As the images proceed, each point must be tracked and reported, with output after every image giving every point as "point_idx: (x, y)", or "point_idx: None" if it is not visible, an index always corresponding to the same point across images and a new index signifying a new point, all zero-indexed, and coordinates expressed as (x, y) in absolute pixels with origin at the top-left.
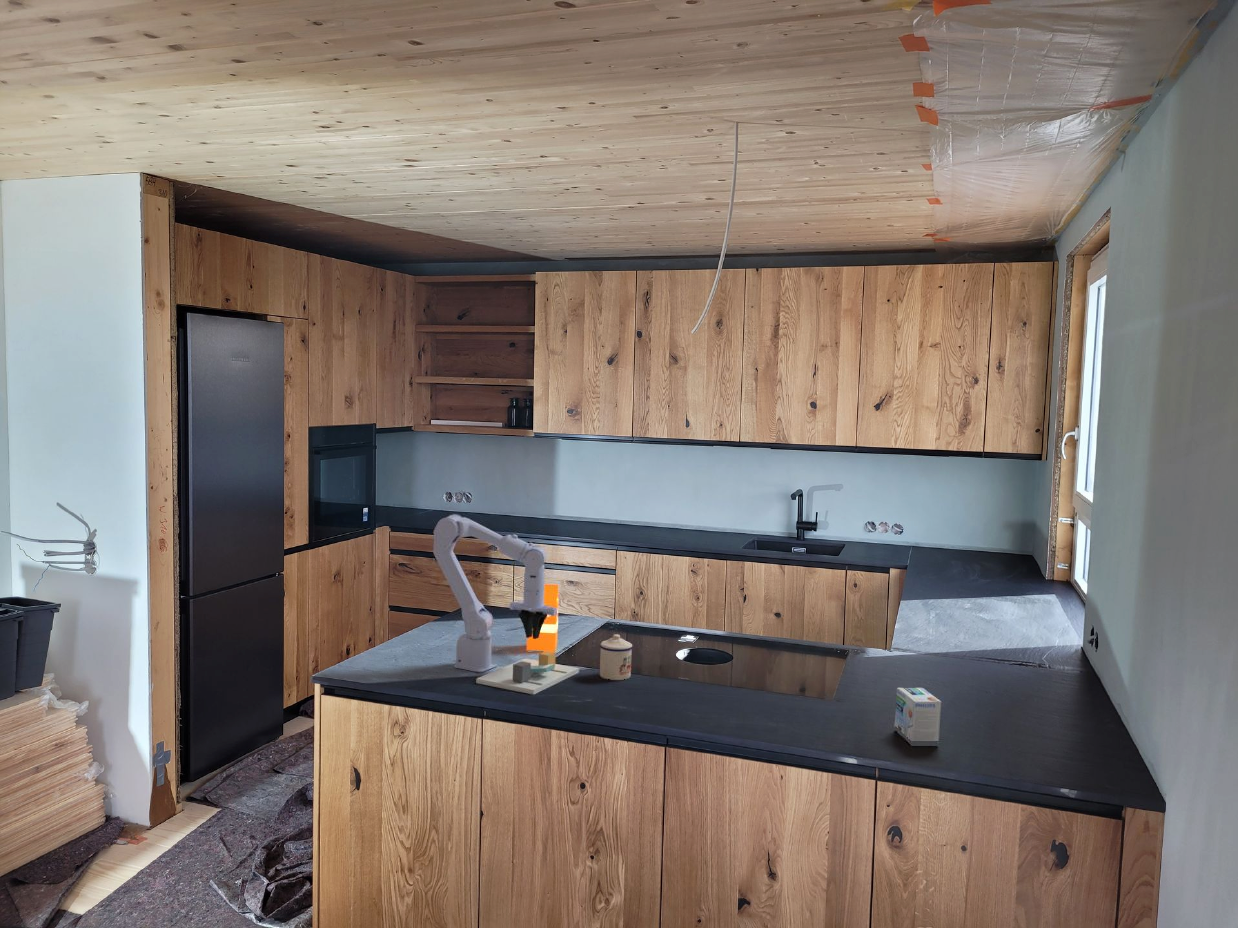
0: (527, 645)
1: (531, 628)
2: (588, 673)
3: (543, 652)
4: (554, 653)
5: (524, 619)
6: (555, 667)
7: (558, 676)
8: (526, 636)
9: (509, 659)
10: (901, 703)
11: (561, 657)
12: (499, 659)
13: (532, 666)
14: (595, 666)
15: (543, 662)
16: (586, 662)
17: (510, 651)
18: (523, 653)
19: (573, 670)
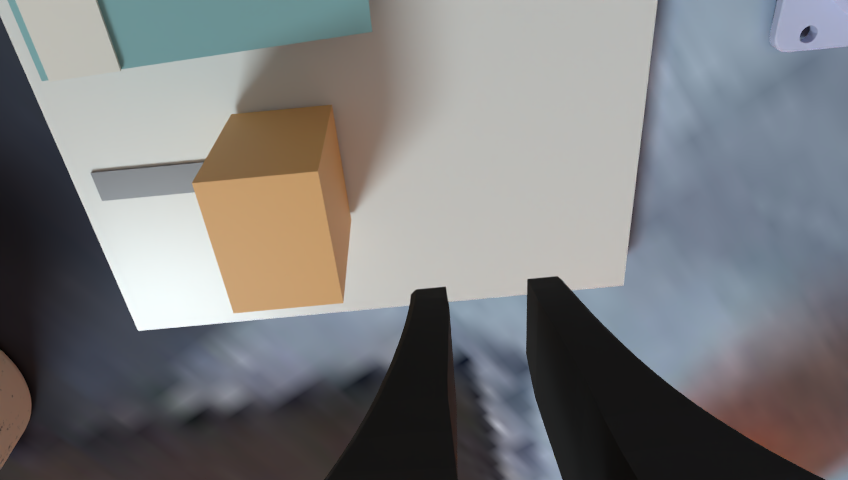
0: None
1: (555, 433)
2: (85, 327)
3: (316, 237)
4: (229, 290)
5: (674, 471)
6: None
7: None
8: (555, 282)
9: (751, 255)
10: None
11: (467, 457)
12: (825, 212)
13: (305, 3)
14: (182, 445)
15: (266, 138)
16: (282, 467)
17: (818, 382)
18: (719, 396)
19: (117, 267)
